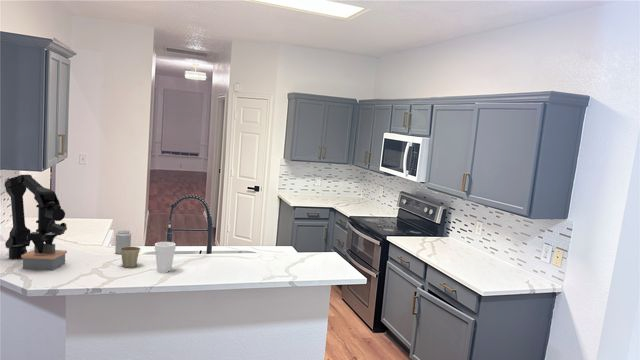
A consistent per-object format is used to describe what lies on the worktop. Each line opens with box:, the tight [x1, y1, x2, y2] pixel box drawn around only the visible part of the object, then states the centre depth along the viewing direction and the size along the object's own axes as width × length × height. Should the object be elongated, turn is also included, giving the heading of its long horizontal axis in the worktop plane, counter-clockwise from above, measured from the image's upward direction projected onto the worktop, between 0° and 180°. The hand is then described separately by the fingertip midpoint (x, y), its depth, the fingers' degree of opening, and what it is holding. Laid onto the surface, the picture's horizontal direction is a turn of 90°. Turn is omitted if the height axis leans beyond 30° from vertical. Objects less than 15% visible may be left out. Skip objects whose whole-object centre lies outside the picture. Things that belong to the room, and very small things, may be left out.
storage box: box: [22, 254, 66, 271], centre depth 208 cm, size 13×11×6 cm
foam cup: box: [154, 241, 176, 273], centre depth 216 cm, size 10×9×13 cm
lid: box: [21, 243, 68, 259], centre depth 208 cm, size 14×12×6 cm
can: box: [114, 229, 132, 255], centre depth 243 cm, size 8×8×12 cm
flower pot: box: [120, 246, 141, 268], centre depth 220 cm, size 9×9×9 cm
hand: (44, 251), depth 208 cm, fingers open, 6 cm apart
